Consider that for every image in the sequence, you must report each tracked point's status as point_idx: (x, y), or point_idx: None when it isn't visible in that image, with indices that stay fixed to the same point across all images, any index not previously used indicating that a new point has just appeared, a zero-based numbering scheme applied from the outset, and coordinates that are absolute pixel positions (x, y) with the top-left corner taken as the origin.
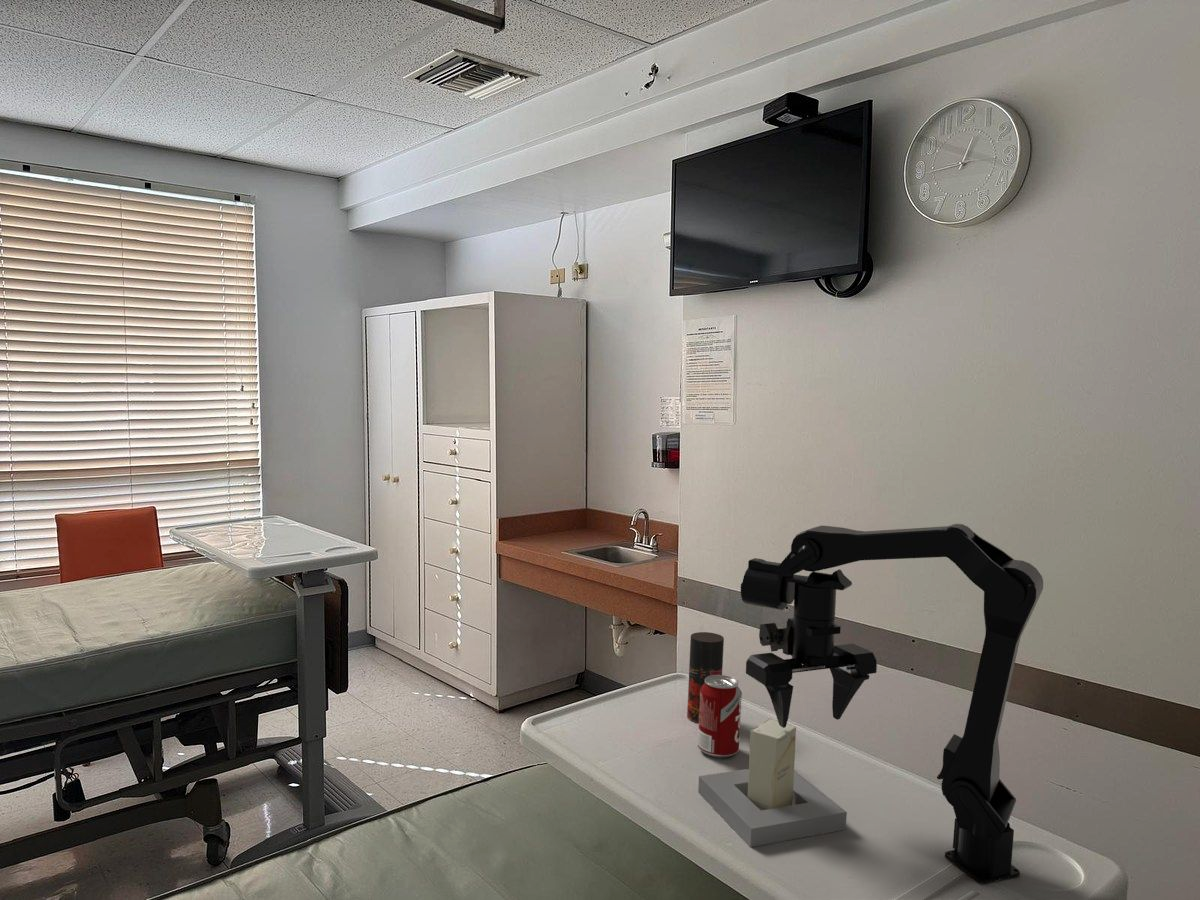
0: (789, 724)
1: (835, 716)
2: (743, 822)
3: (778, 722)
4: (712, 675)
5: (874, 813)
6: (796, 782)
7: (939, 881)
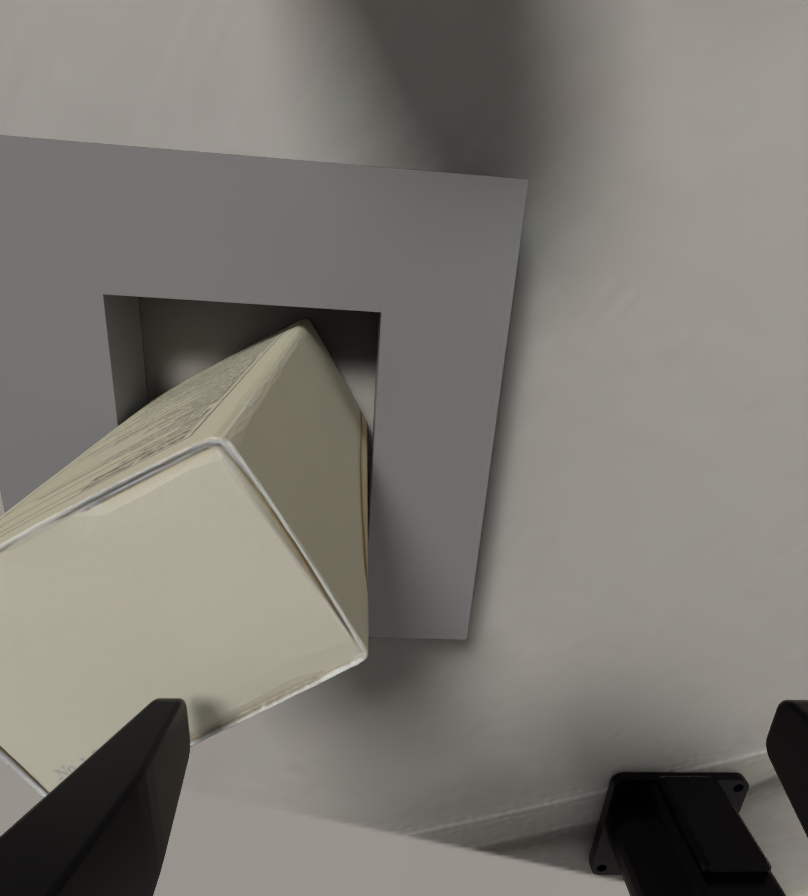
0: (335, 609)
1: (784, 743)
2: None
3: (139, 712)
4: None
5: (634, 548)
6: (435, 386)
7: (507, 830)
